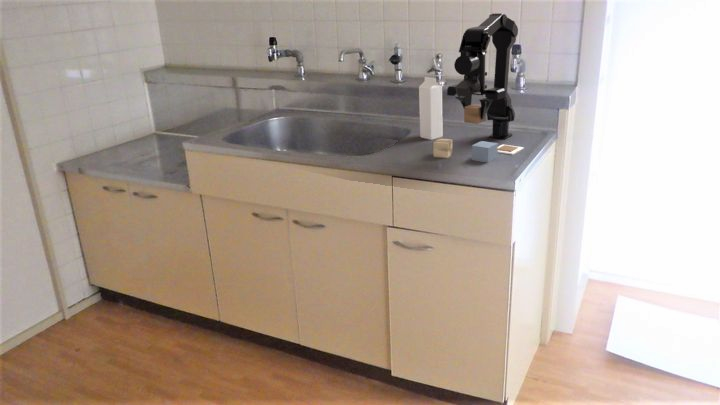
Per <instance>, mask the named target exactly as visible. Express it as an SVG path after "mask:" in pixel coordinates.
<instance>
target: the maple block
mask: <svg viewBox="0 0 720 405" xmlns="http://www.w3.org/2000/svg"><path fill="white" fill-rule="evenodd" d="M432 146H433V150H432V151H433V158H446V159H449V158H450V157H451V155H453V139H452V138H451V139H450V138H436V139H435V141H433V144H432Z"/></svg>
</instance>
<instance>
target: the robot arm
mask: <svg viewBox="0 0 720 405" xmlns="http://www.w3.org/2000/svg"><path fill="white" fill-rule="evenodd" d="M518 35H519V27H518V25H517V23H516V21H514V20H512V19H510V17H508V16H507V15H506V14H505V13H503V12H502V13H499V12H498V13H492V14H489V15H488V18H486V19H485V20H484V21H483V22H481V23H480V24H479V25H478V26H474V27H469V28H467V29H465V31H464V32H463V35H462V39H461V43H460V46H459V48H458V53H460V56H458V57H457V58H456V60H455V61H454V65H453V66H454V70H455V71H456V73H458V74H459V75H462V76H463V79H462V80H461V81H459V83H457V84H456V83H455V84H453V85H449V86H447V89H446V96H452V97H454V96H455V99H456V100H458V101H459V102H460V103H461V105H462V108H463V109H464V107H466V106H469V105H472V100H473V99H472V96H473V95H474V96H475V95H477V96H482V98H480V99H479V102H480V105H481V119H484V117H485V115H486V117H487V118H486V119H487V121H492V129H491V130H492V131H491V132H492V133H490V134H489V135H488V138H493V139H500V140H505V139H507V138H509V137H511V136H513V133H510V123H511V122H514V121H515V117H516V112H515V110H514V108H513V105H512V98H511V97H510V95H509V93H508V85H509V71H510V70H509V69H510V58H511V57H510V56H511V49H512V48H513V46H514V45H515V43H516V41H517V37H518ZM491 41H492V44H493V46H494V48H495V50H496V52H495V66H494V79H493V80H494V82H493V87H492V88H488V85H487V84H486V76H488V71H486V54H487V53H488V51H487V49H488V47H489V44H490V42H491Z"/></svg>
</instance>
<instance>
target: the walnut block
mask: <svg viewBox="0 0 720 405" xmlns="http://www.w3.org/2000/svg"><path fill="white" fill-rule="evenodd" d="M463 111H464V115H463V118H464V119H463V120H464V123H468V124H469V123H470V124H475V125H479V124H482V123H483V122H486V121H487V120H486V119H487V118H486V117H487V114H486V115H485V117H484V119H481V104H474V103H471V105H469V106H466V107H464V108H463Z"/></svg>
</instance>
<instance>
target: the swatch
mask: <svg viewBox="0 0 720 405" xmlns="http://www.w3.org/2000/svg"><path fill="white" fill-rule="evenodd" d="M524 149H525V147H522V146H516V145H510V144H501V145H500V144H499V146H498V154H499V153H500V154H505V155H506V154H507V155H512V156H513V155H515V154H517V153H520V152H521V151H522V150H524Z"/></svg>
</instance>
